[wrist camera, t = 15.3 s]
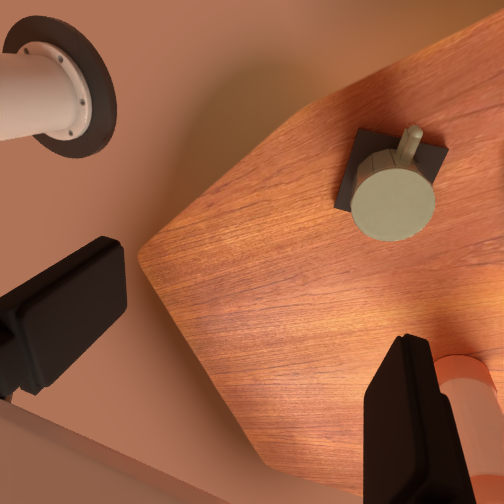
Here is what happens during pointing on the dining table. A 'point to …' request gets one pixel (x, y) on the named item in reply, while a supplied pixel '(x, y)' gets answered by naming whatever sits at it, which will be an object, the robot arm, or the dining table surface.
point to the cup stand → (373, 142)
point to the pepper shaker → (476, 423)
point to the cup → (393, 191)
